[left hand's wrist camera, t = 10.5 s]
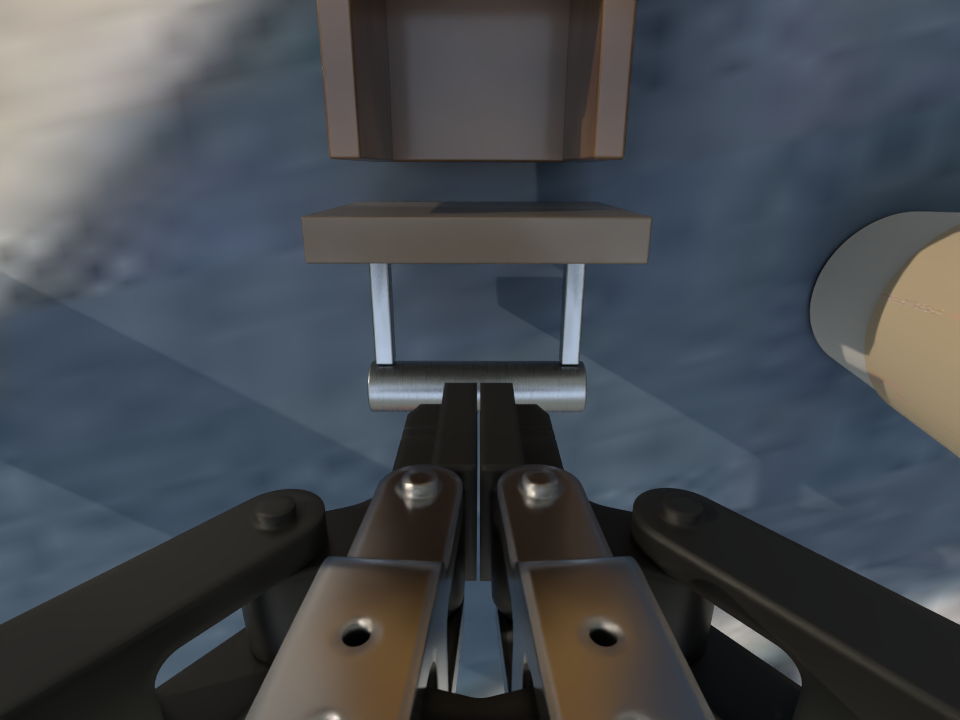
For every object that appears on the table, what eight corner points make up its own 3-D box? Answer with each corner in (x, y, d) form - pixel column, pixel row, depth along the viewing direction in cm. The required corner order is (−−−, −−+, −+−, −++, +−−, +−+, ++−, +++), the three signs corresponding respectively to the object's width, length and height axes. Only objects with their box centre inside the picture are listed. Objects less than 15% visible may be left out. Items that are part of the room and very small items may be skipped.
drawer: (586, 370, 22) (629, 450, 16) (368, 369, 22) (324, 449, 16) (646, -487, 15) (778, -1003, 8) (309, -488, 15) (174, -1006, 8)
